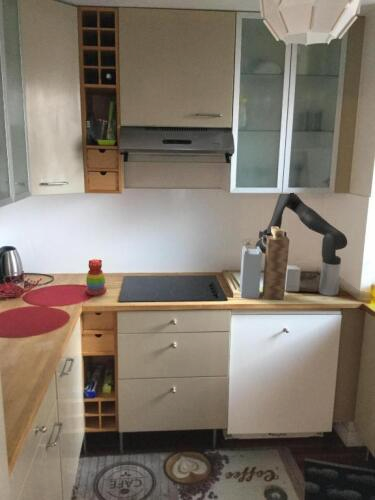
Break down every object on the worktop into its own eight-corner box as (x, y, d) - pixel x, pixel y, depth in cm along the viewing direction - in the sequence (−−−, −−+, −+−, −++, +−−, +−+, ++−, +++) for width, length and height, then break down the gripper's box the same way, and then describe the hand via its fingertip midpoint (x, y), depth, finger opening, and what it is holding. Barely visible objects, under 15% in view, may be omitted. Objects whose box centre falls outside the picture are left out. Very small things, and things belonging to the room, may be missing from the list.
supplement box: (298, 291, 234) (301, 269, 230) (285, 291, 234) (287, 269, 230) (295, 286, 241) (298, 265, 237) (282, 286, 241) (284, 264, 238)
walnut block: (281, 295, 228) (286, 236, 219) (283, 300, 221) (289, 239, 212) (262, 294, 228) (266, 235, 219) (264, 299, 221) (269, 239, 212)
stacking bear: (106, 287, 232) (105, 256, 227) (107, 295, 222) (106, 261, 217) (85, 289, 229) (84, 256, 224) (85, 296, 220) (84, 262, 215)
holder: (256, 291, 233) (259, 246, 226) (258, 298, 223) (262, 251, 216) (239, 290, 233) (242, 245, 226) (241, 297, 223) (244, 251, 217)
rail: (278, 232, 227) (279, 224, 226) (283, 239, 212) (284, 231, 211) (269, 232, 227) (270, 224, 226) (274, 239, 212) (275, 230, 211)
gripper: (256, 232, 242) (260, 224, 226) (282, 233, 242) (288, 224, 226) (256, 245, 240) (261, 237, 225) (282, 246, 240) (288, 238, 224)
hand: (274, 231), depth 225 cm, fingers open, 8 cm apart
